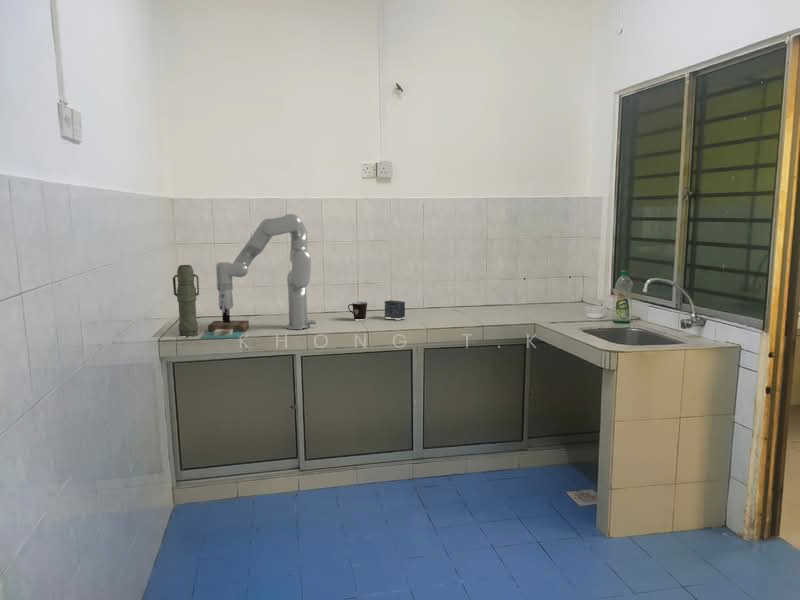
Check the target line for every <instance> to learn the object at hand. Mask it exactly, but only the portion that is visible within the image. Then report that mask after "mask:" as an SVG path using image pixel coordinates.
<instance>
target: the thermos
mask: <svg viewBox="0 0 800 600" xmlns="http://www.w3.org/2000/svg"><path fill="white" fill-rule="evenodd" d="M176 278H177V283H176ZM195 278H196V286H195ZM172 284H173V285H172V286H173V287H172V288H173V295H174V296H175V297H177V298H176V299H177V303H178V314H179V316H178V319H179V322H178V332H179V337H181V336H186V337H185V338H189V337H188V336H192V337H195V335H196V336H198V335H199V333H198V332H199V331H198V330H199V326H198V320H197V309H196V308H197V307H196V304H197V303H196V301H197V297H198V296H199V295H200V288H199V276H198V275H197V274H195V273H194V269H193V267H192V265H190V264H180V265H178V268H177V271H176V274H175V275H174V276H173V277H172ZM196 290H197V291H196Z"/></svg>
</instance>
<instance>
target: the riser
mask: <svg viewBox="0 0 800 600" xmlns="http://www.w3.org/2000/svg"><path fill="white" fill-rule="evenodd" d="M249 325H250V321H249V320H230V322H229V323H223V320H212V322H210V323H209V324H207V332H214V331H215V330H216V329H233V332H244V333H246V331H248V329H250V326H249Z"/></svg>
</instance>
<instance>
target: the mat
mask: <svg viewBox="0 0 800 600" xmlns="http://www.w3.org/2000/svg"><path fill="white" fill-rule="evenodd" d="M244 333H245V332H233V333H232V334H231V335H230V336H214V333H213V332H208V331H207V333H205V334H204V335H202V336H201V338H200V339H203V340H205V339H206V340H207V339H240V338H241V337H242V336H243V335H242V334H244ZM241 335H242V336H241Z"/></svg>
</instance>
